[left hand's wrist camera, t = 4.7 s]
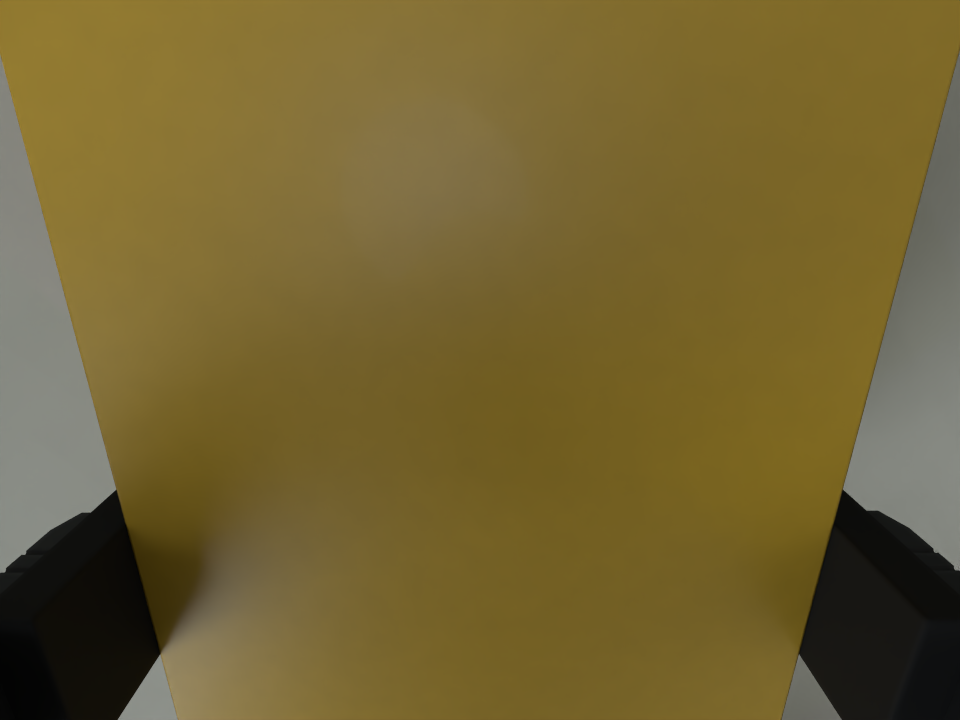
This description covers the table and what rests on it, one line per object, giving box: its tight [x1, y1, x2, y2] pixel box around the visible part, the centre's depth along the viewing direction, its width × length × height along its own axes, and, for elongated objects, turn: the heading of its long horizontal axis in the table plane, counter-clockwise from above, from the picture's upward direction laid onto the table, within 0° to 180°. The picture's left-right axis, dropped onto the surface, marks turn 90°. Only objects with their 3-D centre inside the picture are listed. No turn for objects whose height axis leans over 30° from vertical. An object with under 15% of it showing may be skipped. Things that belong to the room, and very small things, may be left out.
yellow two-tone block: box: [0, 0, 960, 720], centre depth 11 cm, size 19×11×8 cm, turn 0°
